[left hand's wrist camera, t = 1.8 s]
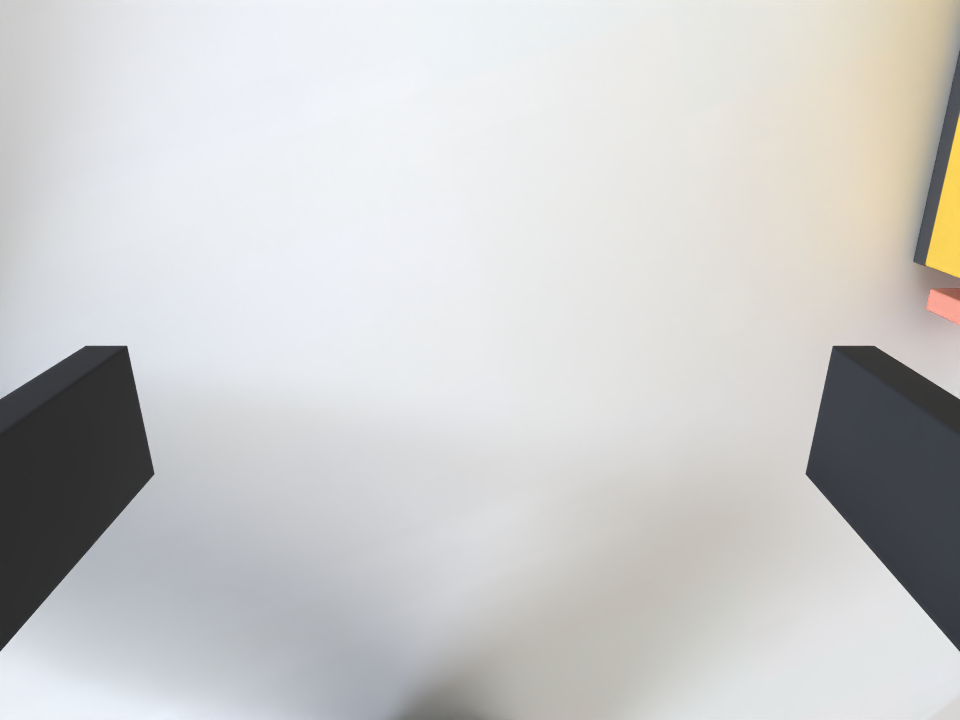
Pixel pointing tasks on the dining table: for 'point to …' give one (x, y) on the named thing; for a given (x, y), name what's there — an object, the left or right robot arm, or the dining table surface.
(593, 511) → the dining table surface
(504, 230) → the dining table surface
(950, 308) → the drawer
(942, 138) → the cabinet
